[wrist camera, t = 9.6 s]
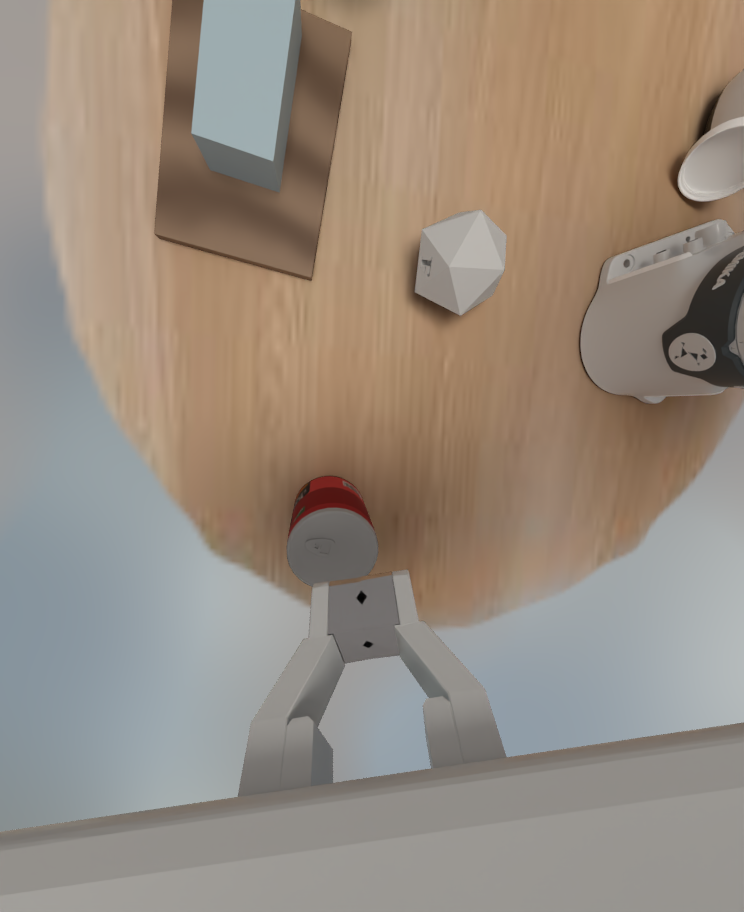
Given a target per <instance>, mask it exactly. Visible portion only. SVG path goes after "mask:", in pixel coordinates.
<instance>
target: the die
mask: <svg viewBox="0 0 744 912" xmlns="http://www.w3.org/2000/svg"><path fill="white" fill-rule="evenodd" d="M506 238H507V236H506V235H505V234H504V233H503V232H502V231H501V229H500V228H499V227H498V226H497V225H496V224H495V223H494V222H493V221H492V220H491V219H490V218H489V217H488V216H487V215H486V214H485V213H484V212H483V211H482V210H475V211H468V212H460V213H457V214H455V215H453V216H450V217H448V218H446V219H444V220H442V221H439V222H437V223H435V224H433V225H431V226H428V227H426V228H424V229H422V234H421V242H420V251H419V260H418V268H417V277H416V285H415V293H417V294H419V295H421V296H423V297H425V298H427V299H429V300H431V301H433V302H435V303H437V304H439V305H441V306H443V307H444V308H446V309H448V310H450V311H452V312H454V313H456V314H458V315H460V316H461V315H463V314H464V313H466V312H467V311H469V310H470V309H472V308H474V307H475V306H477V305H478V304H480V303H481V302H483V301H485V300H486V299H488V298H489V297H491V296H492V295H493V293H494V291H495V289H496V287H497V285H498V283H499V281H500V279H501V276H502V274H503V272H504V270H505V254H506Z"/></svg>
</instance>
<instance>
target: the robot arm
mask: <svg viewBox="0 0 744 912" xmlns="http://www.w3.org/2000/svg"><path fill="white" fill-rule="evenodd" d="M623 263H624V265H623ZM580 345H581V355H582V360H583V363H584V366H585V369H586V371H587V373H588V375H589V376H590V378H591V379H592V380H593V381H594V383H595V384H596V385H598V386H599V387H600V388H601V389H603V390H605V391H607V392H609V393H612V394H616V395H630V396H634V397H636V398H637V399H639V400H640V401H642V402H644V403H647V404H656V403H659V402H661V401H662V400H664V399H665V398H666V397H667V396H695V395H715V394H719V393H722V392H723V391H724V390H725V389H727V388H728V387H734V388H741V389H744V231H741V232H738V233H735V234H734V232H733V231H732V229H731V228H730V227H729V225H728V224H727V221H726V220H724V221H723V220H722V219H717V220H713V221H710V222H707V223H704V224H701V225H698V226H695V227H693V228H690V229H687V230H684V231H682V232H679V233H676V234H673V235H671V236H668V237H665V238H662V239H659V240H657V241H654V242H651V243H648V244H646V245H643V246H640V247H637V248H635V249H632V250H629V251H626V252H624V253H621V254H618V255H615V256H613V257H610V258H609V259H607V260H606V261H605V263H604V265H603V268H602V271H601V276H600V282H599V288H598V290H597V293H596V295H595V297H594V299H593V301H592V302H591V304H590V306H589V308H588V310H587V313H586V316H585V318H584V322H583V326H582V331H581V343H580ZM393 583H394V584H393ZM397 655H400V657H401V659H402V660H403V662H404V663H405V665H406V666H407V667H408V669H409V670H410V672H411V673H412V675H413V676H414V677H415V679H416V680H417V682H418V683H419V684H420V686H421V687H422V689H423V690H424V692H425V693H426V694H427V696H428V697H429V698H428V699H426V700H425V703H424V704H423V713H424V723H425V733H426V740H427V746H428V752H429V759H430V765H431V769H425V770H418V771H411V772H404V773H397V774H391V775H384V776H378V777H370V778H363V779H357V780H350V781H343V782H336V783H333V749H332V748H331V746H330V745H329V743H328V742H327V740H326V739H325V737H324V736H323V735H322V733H321V732H320V731H319V729H318V725H319V723H320V721H321V719H322V716H323V714H324V712H325V710H326V707H327V705H328V703H329V700H330V698H331V696H332V694H333V692H334V689H335V687H336V685H337V682H338V680H339V678H340V676H341V674H342V671H343V669H344V667H345V663H350V662H355V661H362V660H367V659H373V658H381V657H390V656H397ZM0 912H744V723H737V724H731V725H724V726H717V727H710V728H704V729H697V730H690V731H683V732H676V733H670V734H663V735H656V736H650V737H642V738H635V739H629V740H622V741H616V742H608V743H601V744H595V745H588V746H581V747H575V748H567V749H561V750H554V751H547V752H540V753H533V754H527V755H520V756H514V757H506V754H505V751H504V748H503V745H502V741H501V738H500V735H499V732H498V729H497V725H496V722H495V719H494V716H493V713H492V709H491V707H490V703H489V700H488V697H487V694H486V690H485V689H484V687H483V686H482V685H481V684H480V683H479V682H478V681H477V679H476V678H475V677H474V676H473V675H472V674H471V673H470V672H469V670H468V669H467V668H466V667H465V666H464V665H463V664H462V663H461V662H460V661H459V659H458V658H457V657H456V656H455V655H454V654H453V653H452V652H451V651H450V650H449V648H448V647H447V646H446V645H445V644H444V643H443V642H442V641H441V639H440V638H439V637H438V636H437V635H436V634H435V633H434V632H433V631H432V629H431V628H430V627H429V626H428V625H427V624H426V623H425V622H424V621H419V619H418V614H417V609H416V604H415V600H414V595H413V590H412V585H411V580H410V575H409V571H408V569H406V570H400V571H394V572H385V573H379V574H373V575H367V576H361V577H357V578H350V579H343V580H336V581H327V582H321V583H315V584H314V585H313V588H312V596H311V610H310V624H309V637H308V638H306V639H303V641H302V642H301V644H300V646H299V647H298V649H297V650H296V652H295V653H294V655H293V657H292V658H291V660H290V661H289V663H288V665H287V666H286V668H285V670H284V671H283V673H282V674H281V676H280V677H279V679H278V681H277V682H276V684H275V685H274V687H273V689H272V690H271V692H270V694H269V695H268V696H267V698H266V700H265V701H264V703H263V704H262V706H261V708H260V709H259V711H258V713H257V714H256V715H255V717H254V719H253V720H252V722H251V725H250V731H249V736H248V742H247V748H246V753H245V759H244V764H243V770H242V776H241V781H240V788H239V793H238V797H234V798H228V799H221V800H214V801H207V802H200V803H193V804H187V805H180V806H173V807H166V808H160V809H153V810H146V811H139V812H133V813H126V814H119V815H112V816H105V817H98V818H91V819H85V820H78V821H71V822H64V823H57V824H50V825H44V826H37V827H30V828H23V829H16V830H10V831H4V832H0Z"/></svg>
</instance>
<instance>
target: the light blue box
mask: <svg viewBox="0 0 744 912" xmlns="http://www.w3.org/2000/svg"><path fill="white" fill-rule="evenodd" d="M301 38H302V28H301V6H300V0H204V2H203V13H202V24H201V34H200V45H199V56H198V66H197V77H196V88H195V99H194V109H193V120H192V131H191V134H192V136H193V138H194V140H195V142H196V143H197V145H198V147H199V149H200V151H201V153H202V155H203V157H204V159H205V161H206V163H207V165H208V167H209V169H210V170H212V171H215V172H218V173H221V174H224V175H227V176H230V177H233V178H236V179H239V180H242V181H245V182H248V183H251V184H255V185H258V186H261V187H264V188H267V189H270V190H273V191H276V192H279V193H280V186H281V179H282V172H283V165H284V158H285V151H286V144H287V137H288V130H289V123H290V116H291V109H292V102H293V95H294V88H295V81H296V73H297V66H298V59H299V52H300V45H301Z"/></svg>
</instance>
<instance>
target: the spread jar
mask: <svg viewBox="0 0 744 912" xmlns="http://www.w3.org/2000/svg"><path fill="white" fill-rule="evenodd" d="M678 187H679V190H680V192H681V193H682V194H683V195H684V196H685V197H687V198H688V199H691V200H694V201H700V202H705V201H714V200H718V199H721V198H725V197H727V196H729V195H732V194H734V193H736V192H738V191H739V190H741V189H743V188H744V69H743V70H742V71H741V72H740V73H738V74H737V75H736V76H735V77H734V78H733V79H732V80H731V81H730V82H729V83H728V84H727V85H726V87H725V88H724V90H723V91H722V93H721V94H720V96H719V98H718V99H717V101H716V103H715V105H714V107H713V109H712V111H711V114H710V116H709V119H708V122H707V125H706V129H705V133H704V136H702V137H701V138H700V139H699V140H698V141H697V142H696V143H695V144H694V145H693V147H692V148H691V149H690V150H689V152H688V153H687V155H686V157H685V159H684V161H683V163H682V166H681V168H680V171H679V174H678Z"/></svg>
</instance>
